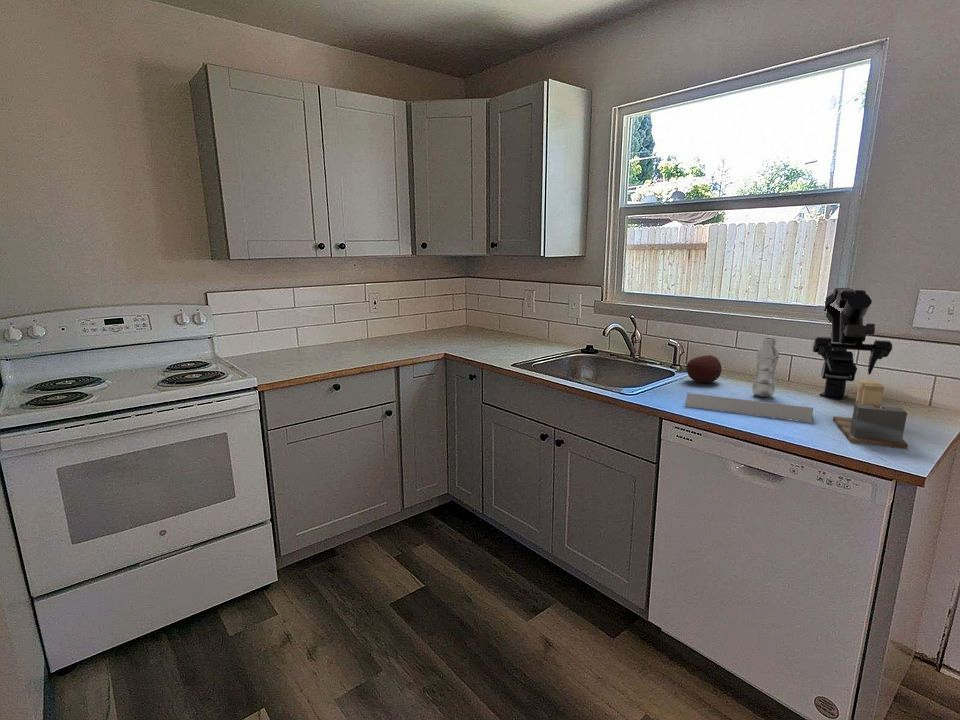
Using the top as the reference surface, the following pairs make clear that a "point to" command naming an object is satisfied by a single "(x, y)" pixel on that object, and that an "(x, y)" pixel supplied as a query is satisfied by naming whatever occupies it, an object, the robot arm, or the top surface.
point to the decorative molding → (750, 407)
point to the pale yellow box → (869, 393)
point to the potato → (704, 369)
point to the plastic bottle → (766, 368)
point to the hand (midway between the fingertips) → (850, 372)
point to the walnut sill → (874, 426)
